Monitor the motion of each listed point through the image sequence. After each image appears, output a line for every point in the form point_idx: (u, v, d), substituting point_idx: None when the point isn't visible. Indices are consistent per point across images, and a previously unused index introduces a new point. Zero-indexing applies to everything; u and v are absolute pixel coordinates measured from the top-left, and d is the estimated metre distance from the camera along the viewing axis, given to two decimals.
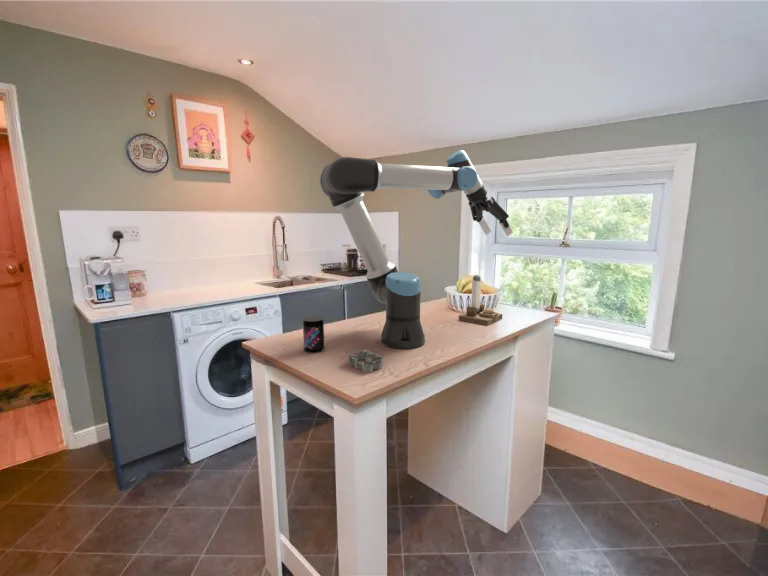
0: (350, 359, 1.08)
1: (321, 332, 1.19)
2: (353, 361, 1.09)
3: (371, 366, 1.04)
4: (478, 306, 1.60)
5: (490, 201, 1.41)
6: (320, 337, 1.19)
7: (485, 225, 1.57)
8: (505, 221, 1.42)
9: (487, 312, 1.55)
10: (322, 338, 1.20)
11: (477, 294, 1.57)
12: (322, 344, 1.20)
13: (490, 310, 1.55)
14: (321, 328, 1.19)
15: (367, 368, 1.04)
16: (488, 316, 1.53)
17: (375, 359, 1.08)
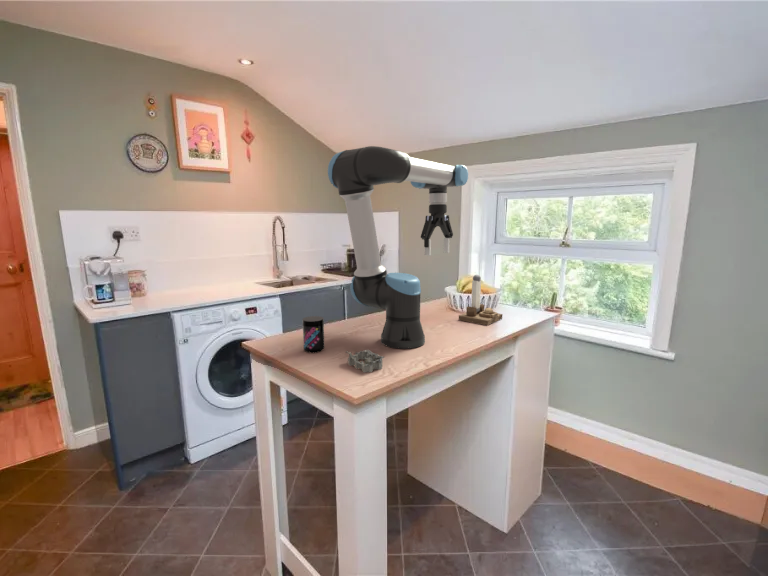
0: (350, 359, 1.09)
1: (321, 332, 1.19)
2: (353, 361, 1.09)
3: (371, 366, 1.04)
4: (478, 306, 1.60)
5: None
6: (320, 337, 1.19)
7: None
8: None
9: (487, 312, 1.55)
10: (322, 338, 1.20)
11: (477, 294, 1.57)
12: (322, 344, 1.20)
13: (490, 310, 1.55)
14: (321, 328, 1.19)
15: (367, 367, 1.04)
16: (488, 316, 1.53)
17: (375, 359, 1.08)
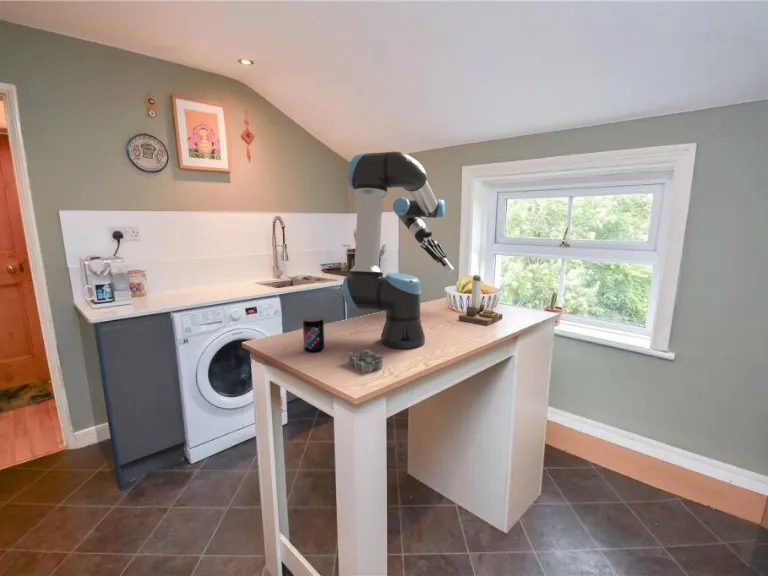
0: (350, 359, 1.09)
1: (321, 332, 1.19)
2: (353, 361, 1.09)
3: (370, 366, 1.04)
4: (478, 306, 1.60)
5: None
6: (320, 337, 1.19)
7: None
8: None
9: (487, 312, 1.55)
10: (322, 338, 1.20)
11: (477, 294, 1.57)
12: (322, 344, 1.20)
13: (490, 310, 1.55)
14: (321, 328, 1.19)
15: (367, 368, 1.04)
16: (488, 316, 1.53)
17: (375, 359, 1.08)
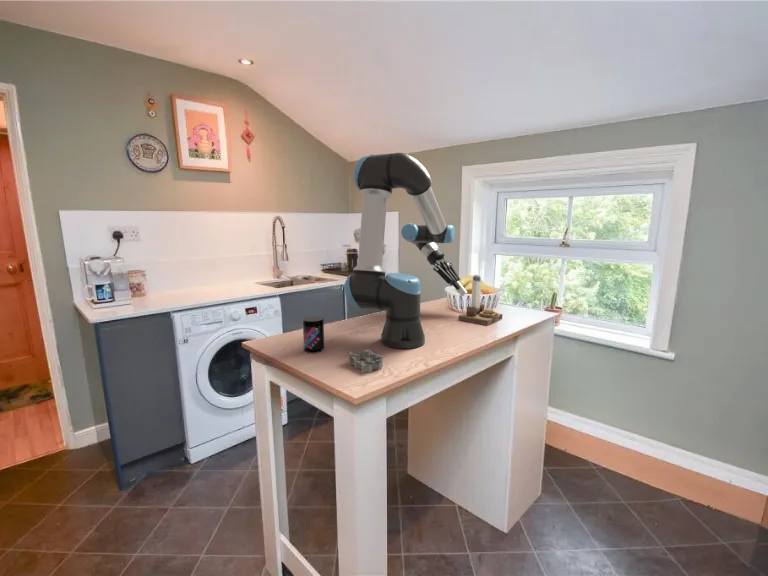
0: (350, 358, 1.09)
1: (321, 332, 1.19)
2: (353, 360, 1.09)
3: (370, 366, 1.04)
4: (478, 306, 1.60)
5: None
6: (320, 337, 1.19)
7: None
8: None
9: (487, 312, 1.55)
10: (322, 338, 1.20)
11: (477, 294, 1.57)
12: (322, 344, 1.20)
13: (490, 310, 1.55)
14: (321, 328, 1.19)
15: (366, 367, 1.04)
16: (488, 316, 1.53)
17: (375, 359, 1.08)
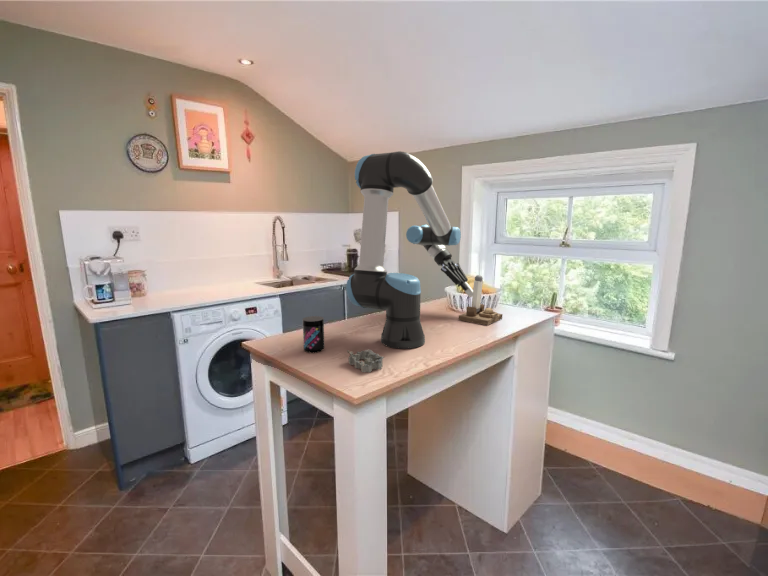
0: (351, 358, 1.09)
1: (321, 332, 1.19)
2: (354, 360, 1.09)
3: (370, 366, 1.04)
4: (478, 306, 1.60)
5: None
6: (320, 337, 1.19)
7: None
8: None
9: (487, 312, 1.55)
10: (322, 338, 1.20)
11: (478, 294, 1.57)
12: (322, 344, 1.20)
13: (490, 310, 1.55)
14: (321, 328, 1.19)
15: (366, 367, 1.04)
16: (488, 316, 1.53)
17: (375, 359, 1.08)
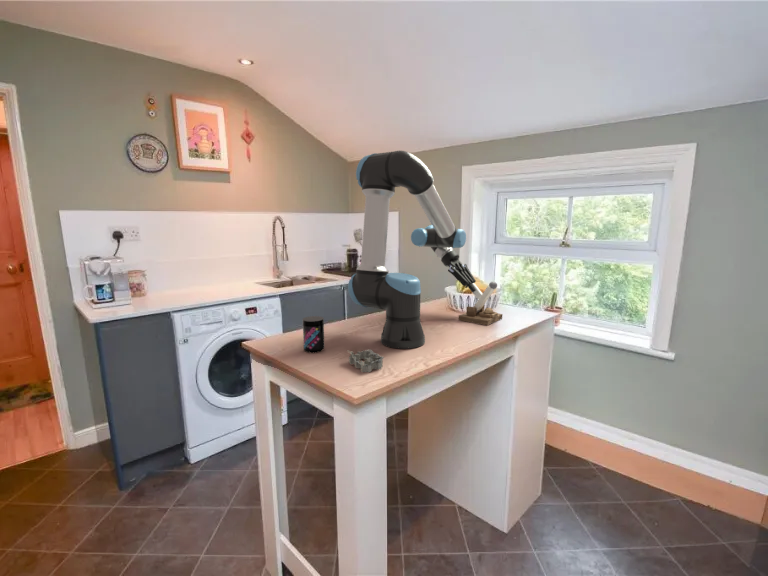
0: (351, 358, 1.09)
1: (321, 332, 1.19)
2: (354, 360, 1.09)
3: (369, 366, 1.04)
4: (480, 308, 1.59)
5: None
6: (320, 337, 1.19)
7: None
8: None
9: (487, 312, 1.55)
10: (322, 338, 1.20)
11: (485, 299, 1.55)
12: (322, 344, 1.20)
13: (490, 310, 1.55)
14: (321, 328, 1.19)
15: (366, 367, 1.04)
16: (488, 316, 1.53)
17: (375, 359, 1.08)
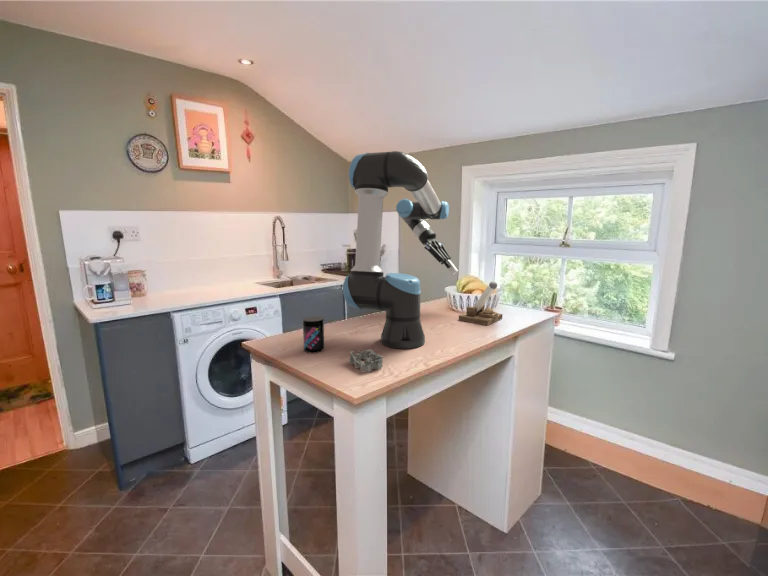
0: (351, 358, 1.10)
1: (321, 332, 1.19)
2: (354, 360, 1.09)
3: (369, 366, 1.04)
4: (480, 308, 1.59)
5: None
6: (320, 337, 1.19)
7: None
8: None
9: (487, 312, 1.55)
10: (322, 338, 1.20)
11: (485, 299, 1.55)
12: (322, 344, 1.20)
13: (490, 310, 1.55)
14: (321, 328, 1.19)
15: (365, 367, 1.04)
16: (488, 316, 1.53)
17: (375, 359, 1.08)
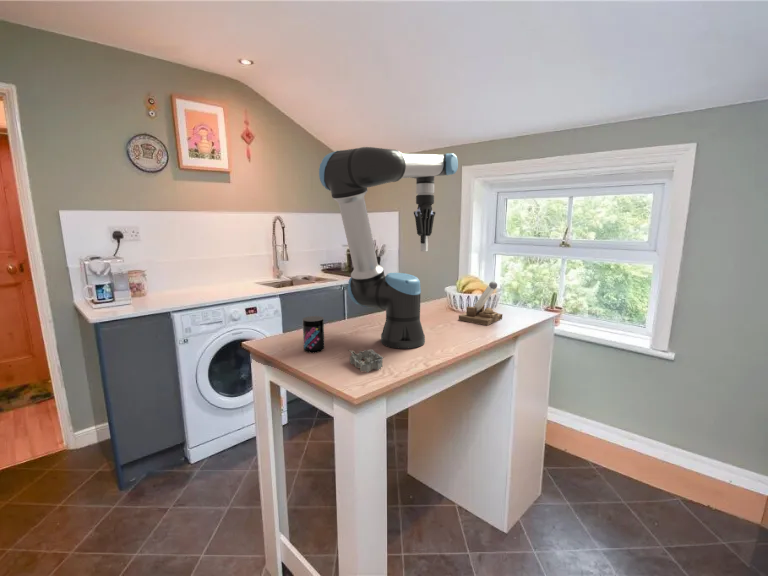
0: (352, 357, 1.10)
1: (321, 332, 1.19)
2: (354, 360, 1.10)
3: (368, 366, 1.04)
4: (480, 308, 1.59)
5: None
6: (320, 337, 1.19)
7: None
8: None
9: (487, 312, 1.55)
10: (322, 338, 1.20)
11: (485, 299, 1.55)
12: (322, 344, 1.20)
13: (490, 310, 1.55)
14: (321, 328, 1.19)
15: (365, 367, 1.04)
16: (488, 316, 1.53)
17: (376, 359, 1.08)
